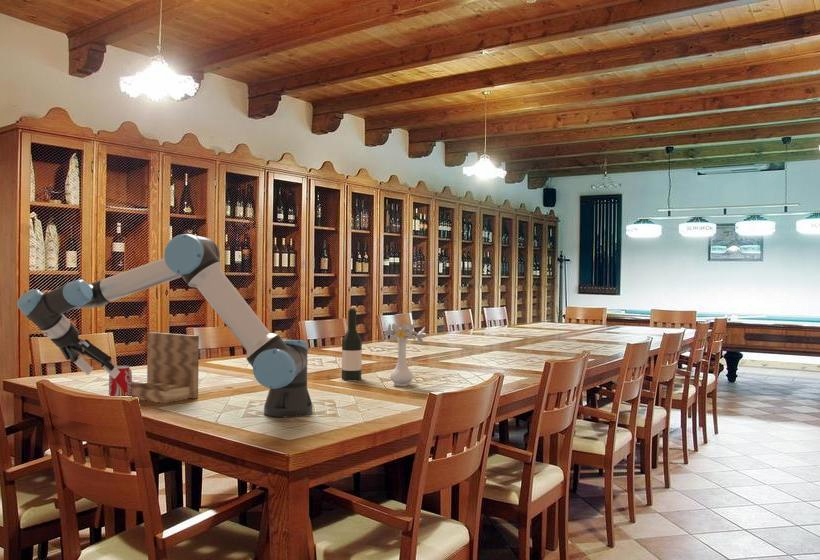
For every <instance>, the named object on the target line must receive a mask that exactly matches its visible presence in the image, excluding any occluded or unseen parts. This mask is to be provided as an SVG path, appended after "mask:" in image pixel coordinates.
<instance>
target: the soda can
mask: <svg viewBox="0 0 820 560" xmlns="http://www.w3.org/2000/svg"><path fill="white" fill-rule="evenodd" d="M114 366H115V367H116V368H117V369H118V370H119V371H120V373H119V374H118V375H117V377H116V378H113V377H112V376H111V375H110V374H109V373H108V396H109V395H110V396H132V382H133V376H132V374H133V373H132V369H131V368H130V367H131V366H130V365H114Z"/></svg>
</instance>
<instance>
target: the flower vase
mask: <svg viewBox="0 0 820 560" xmlns="http://www.w3.org/2000/svg"><path fill="white" fill-rule="evenodd" d="M414 329H415V324H409V325H408V324H406V323H405V322H403V323H402V325H401V326H398V325H396V323H392V324H391V323H389V324H388V326H387V329H386V330H385V331H384V332H383V337H381V340H384V339H385V338H386V337H388V336H389V341H390V342H392V341H394V339H396V340H397V350H398V352H397V362H396V365H395V368H394V369H393V370H392V371H391V372H390V374H389V375H390V376H389V378H390V380H391V382H393V385H394V386H396V387H407V386H409V385H410V383H411V382H412V381H413V380H414V374H413V372H412V371H411V369H409V367H408V364H407V355H406V353H407V352H406V349H407V342H408V339H409V340H411V339H413V340H414V341H416V340H417V344H420V345H421V346H423V344H424V338H426V337H427V333H425V330H426V326H424V327H423V328H422V329H421V330H419V332H417V331H415V330H414ZM415 336H416V337H415Z"/></svg>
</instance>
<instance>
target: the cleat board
mask: <svg viewBox="0 0 820 560" xmlns="http://www.w3.org/2000/svg"><path fill="white" fill-rule="evenodd" d="M199 339H200V336H199V335H197V334H196V335H194V334H182V333H166V332H154V331H151V332H147V349H146V350H147V352H146V353H147V357H146V358H147V359H146V360H147V364H146V365H147V366H146V368H147V369H146V371H147V372H146V375H147V376H146V382H144V383H143V382H138V381H132V397H138V398H139V400H140V399H141V400H140V401H145V400H147V401H146V402H152V401H153V403H158V402H160V403H159V404H169V402H170V403H174V402H173V401H175V402H179V400H180V401H184V400H183V399H185V400H188V399H187V398H193V399H192V400H195V399H194V398H197V399H199V357H200V356H199V350H200V346H199V344H200V343H199V342H200V340H199Z"/></svg>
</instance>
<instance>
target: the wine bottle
mask: <svg viewBox="0 0 820 560" xmlns="http://www.w3.org/2000/svg"><path fill="white" fill-rule="evenodd" d="M347 311H348V314H347V315H348V316H347V319H348V320H347V323H348V324H347V331H346V333H345V335H344V337H343V338H342V340H341V380H342V379H344V380H343V381H345V380H356V381H361V380H362V366H363V365H362V361H363V360H362V353H363V348H362V347H363V345H362V343H363V340H362V338H361V335H360V334H359V332H358V331H357V310H356V308H354V307H349V309H348V310H347ZM360 379H361V380H360Z"/></svg>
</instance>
